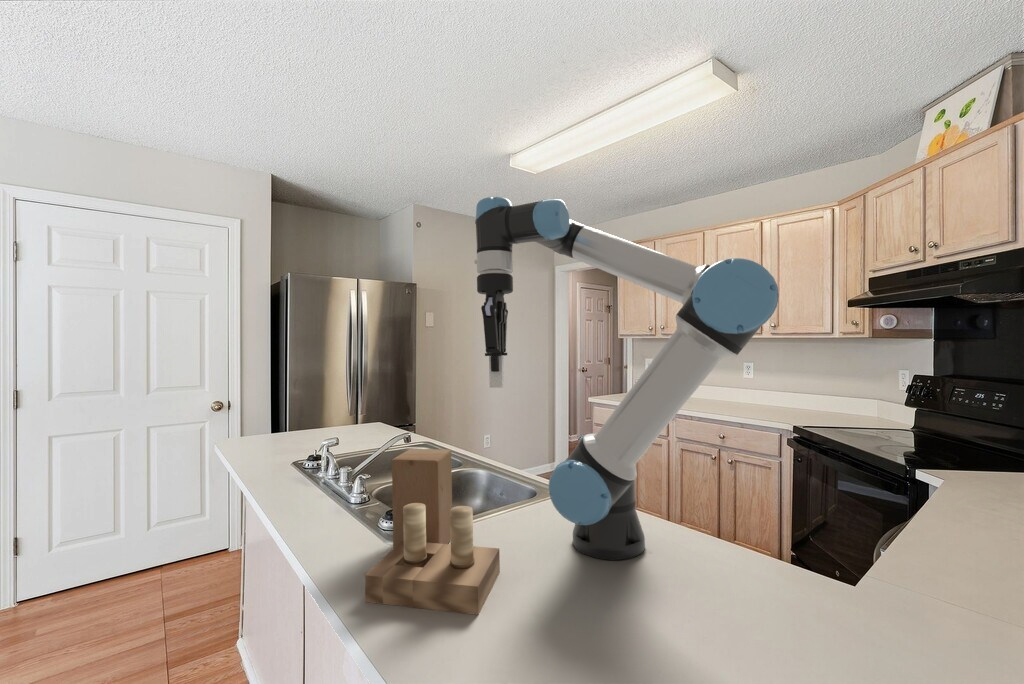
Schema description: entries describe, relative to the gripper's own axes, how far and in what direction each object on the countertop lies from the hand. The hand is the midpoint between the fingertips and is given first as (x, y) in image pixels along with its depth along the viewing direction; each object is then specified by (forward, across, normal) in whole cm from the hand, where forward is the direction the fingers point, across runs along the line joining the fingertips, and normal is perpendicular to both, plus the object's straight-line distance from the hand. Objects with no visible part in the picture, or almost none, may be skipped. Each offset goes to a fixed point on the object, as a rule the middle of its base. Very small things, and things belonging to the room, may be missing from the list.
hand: (496, 387), depth 95 cm
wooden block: (+35, 0, -17) cm, 38 cm away
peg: (+34, +15, -12) cm, 39 cm away
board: (+34, +15, -8) cm, 38 cm away
